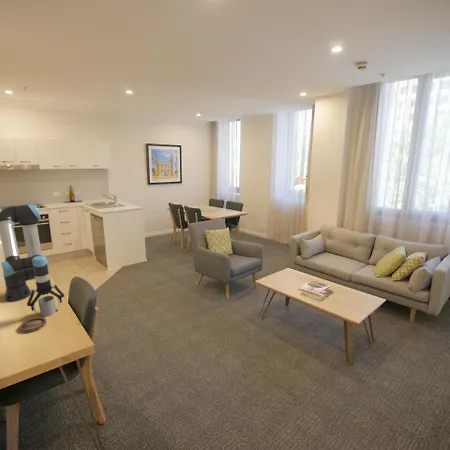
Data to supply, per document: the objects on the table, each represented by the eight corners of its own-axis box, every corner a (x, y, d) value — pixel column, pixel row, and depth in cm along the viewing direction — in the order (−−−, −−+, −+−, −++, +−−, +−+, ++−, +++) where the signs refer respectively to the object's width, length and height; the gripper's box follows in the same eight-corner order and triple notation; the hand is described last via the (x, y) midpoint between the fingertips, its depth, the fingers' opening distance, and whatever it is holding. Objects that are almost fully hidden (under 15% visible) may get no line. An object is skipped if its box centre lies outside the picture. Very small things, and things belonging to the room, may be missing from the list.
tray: (19, 324, 173) (19, 322, 173) (44, 317, 181) (44, 314, 180) (21, 335, 163) (20, 332, 163) (47, 327, 171) (47, 324, 170)
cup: (48, 317, 181) (46, 303, 178) (37, 315, 182) (35, 301, 180) (58, 310, 189) (56, 296, 186) (48, 308, 190) (45, 295, 188)
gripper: (19, 288, 170) (25, 320, 175) (66, 277, 184) (70, 307, 190) (18, 283, 175) (24, 314, 181) (64, 273, 190) (68, 302, 195)
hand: (48, 310), depth 185 cm, fingers open, 13 cm apart
